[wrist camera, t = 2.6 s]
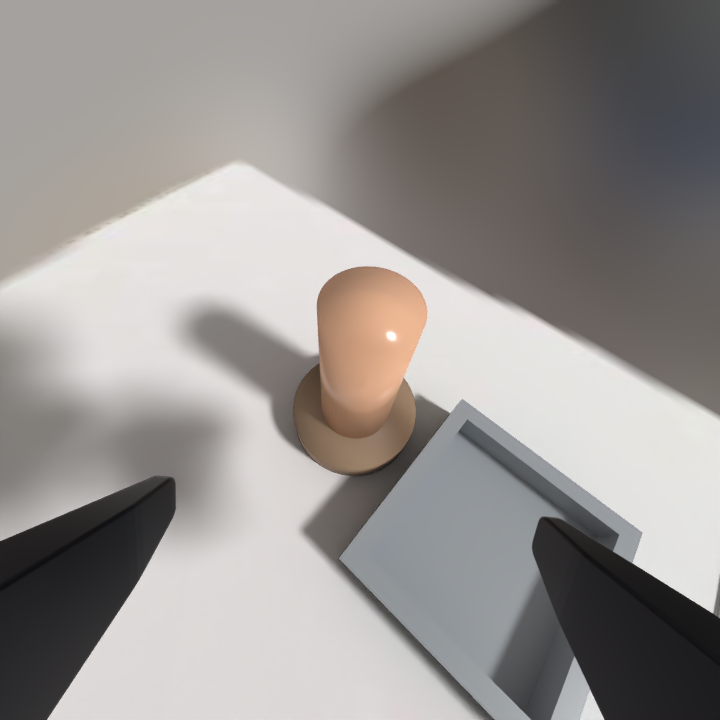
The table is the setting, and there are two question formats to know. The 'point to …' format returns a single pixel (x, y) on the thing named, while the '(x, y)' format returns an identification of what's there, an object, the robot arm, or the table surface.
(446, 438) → the tray
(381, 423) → the peach stamp handle
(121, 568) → the robot arm
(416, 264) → the table surface
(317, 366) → the brown stone
